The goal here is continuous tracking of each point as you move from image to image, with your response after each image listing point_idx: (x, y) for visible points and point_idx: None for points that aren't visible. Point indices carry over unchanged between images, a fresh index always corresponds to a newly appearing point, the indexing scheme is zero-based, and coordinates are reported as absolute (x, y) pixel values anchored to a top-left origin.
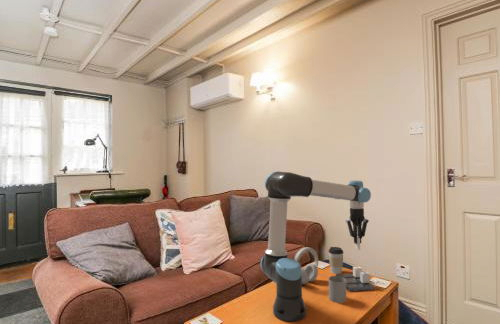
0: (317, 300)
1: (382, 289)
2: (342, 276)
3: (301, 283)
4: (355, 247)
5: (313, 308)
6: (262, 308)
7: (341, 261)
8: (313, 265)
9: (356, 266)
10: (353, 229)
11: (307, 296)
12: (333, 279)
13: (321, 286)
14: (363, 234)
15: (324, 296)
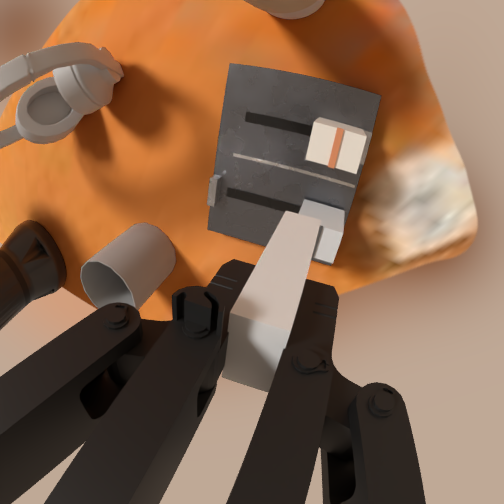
0: (94, 232)
1: (372, 268)
2: (253, 99)
3: (10, 318)
4: (282, 217)
5: (80, 263)
6: (7, 216)
7: (292, 3)
8: (63, 91)
9: (341, 132)
10: (83, 460)
11: (75, 199)
12: (108, 254)
13: (131, 139)
14: (337, 465)
15: (117, 219)
